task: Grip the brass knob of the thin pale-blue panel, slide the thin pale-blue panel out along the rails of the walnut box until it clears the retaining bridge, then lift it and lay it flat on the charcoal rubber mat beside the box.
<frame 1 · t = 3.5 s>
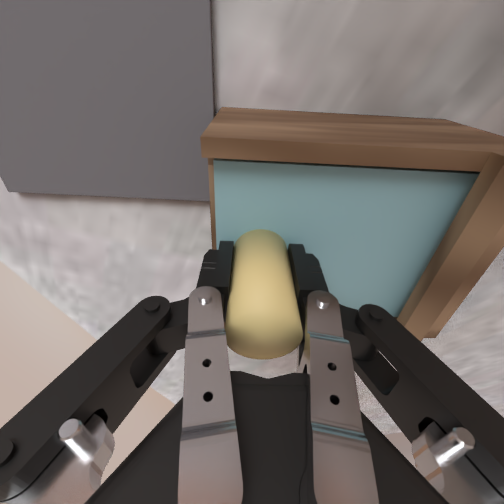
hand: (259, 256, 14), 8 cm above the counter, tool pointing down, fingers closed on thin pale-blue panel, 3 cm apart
box: (317, 197, 21), on the counter
mat: (91, 99, 17), on the counter
thin pale-blue panel: (336, 247, 15), point 7 cm above the counter, touching box, gripper
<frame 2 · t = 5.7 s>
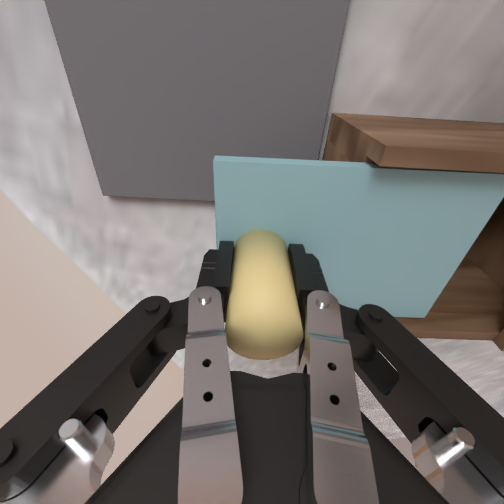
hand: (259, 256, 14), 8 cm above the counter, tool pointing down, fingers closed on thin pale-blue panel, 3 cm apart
box: (406, 201, 21), on the counter
mat: (203, 104, 17), on the counter
thin pale-blue panel: (337, 247, 15), point 7 cm above the counter, touching gripper
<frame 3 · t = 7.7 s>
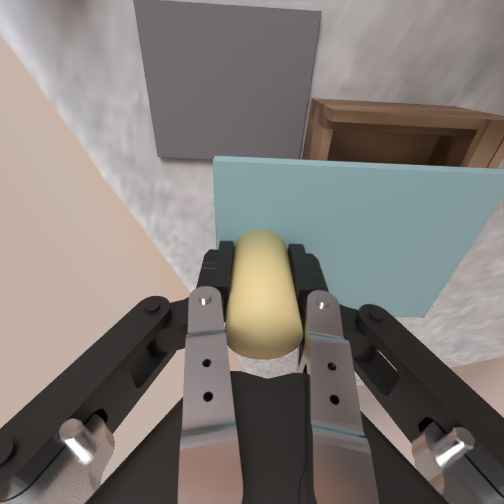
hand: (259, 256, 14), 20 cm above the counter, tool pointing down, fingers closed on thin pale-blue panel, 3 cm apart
box: (366, 161, 30), on the counter
mat: (228, 93, 26), on the counter
thin pale-blue panel: (336, 247, 15), point 18 cm above the counter, touching gripper
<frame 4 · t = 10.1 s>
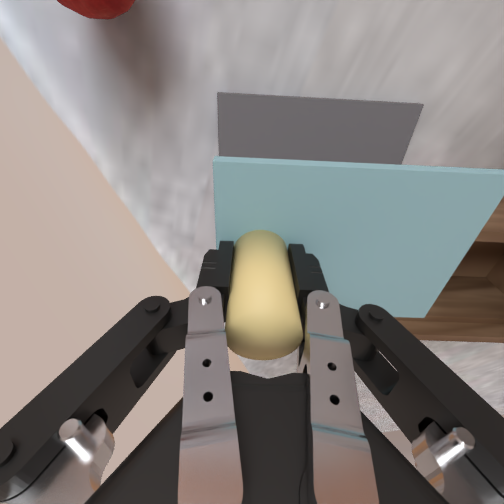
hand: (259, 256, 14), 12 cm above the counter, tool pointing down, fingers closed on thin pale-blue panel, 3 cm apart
box: (443, 239, 28), on the counter
mat: (305, 178, 24), on the counter
thin pale-blue panel: (336, 247, 15), point 11 cm above the counter, touching gripper
when the fingers open (3 cm above the counter, at t = 12.0 s): thin pale-blue panel drops 2 cm, resting on mat.
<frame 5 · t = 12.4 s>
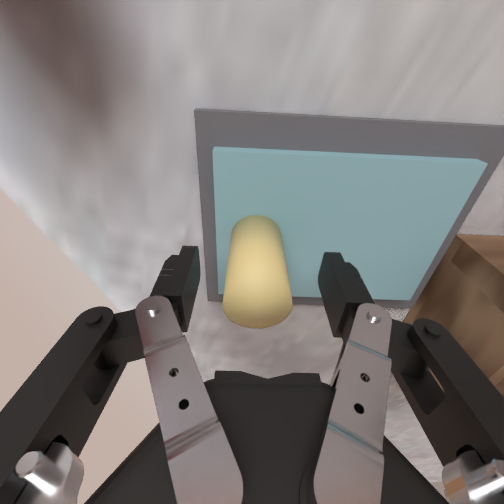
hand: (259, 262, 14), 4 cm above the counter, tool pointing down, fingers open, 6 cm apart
mat: (327, 228, 17), on the counter
thin pale-blue panel: (327, 233, 16), point 1 cm above the counter, touching mat
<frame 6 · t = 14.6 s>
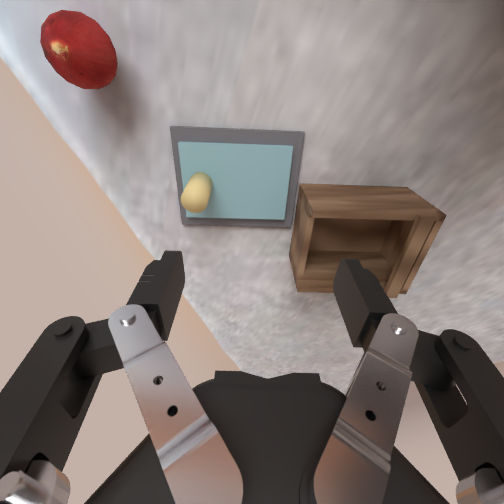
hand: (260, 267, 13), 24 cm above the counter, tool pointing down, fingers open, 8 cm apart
red oval lump: (100, 55, 27), on the counter
box: (343, 223, 39), on the counter
mat: (237, 181, 35), on the counter
thin pale-blue panel: (236, 182, 35), point 1 cm above the counter, touching mat
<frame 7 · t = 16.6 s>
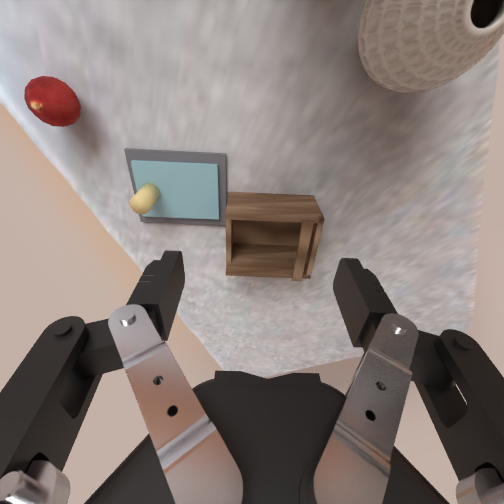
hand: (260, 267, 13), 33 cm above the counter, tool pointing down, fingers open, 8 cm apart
red oval lump: (70, 99, 38), on the counter
box: (268, 223, 50), on the counter
mat: (180, 189, 46), on the counter
thin pale-blue panel: (178, 190, 45), point 1 cm above the counter, touching mat
vase: (393, 28, 33), on the counter
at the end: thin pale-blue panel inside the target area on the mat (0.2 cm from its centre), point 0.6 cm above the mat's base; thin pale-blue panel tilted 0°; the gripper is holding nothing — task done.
